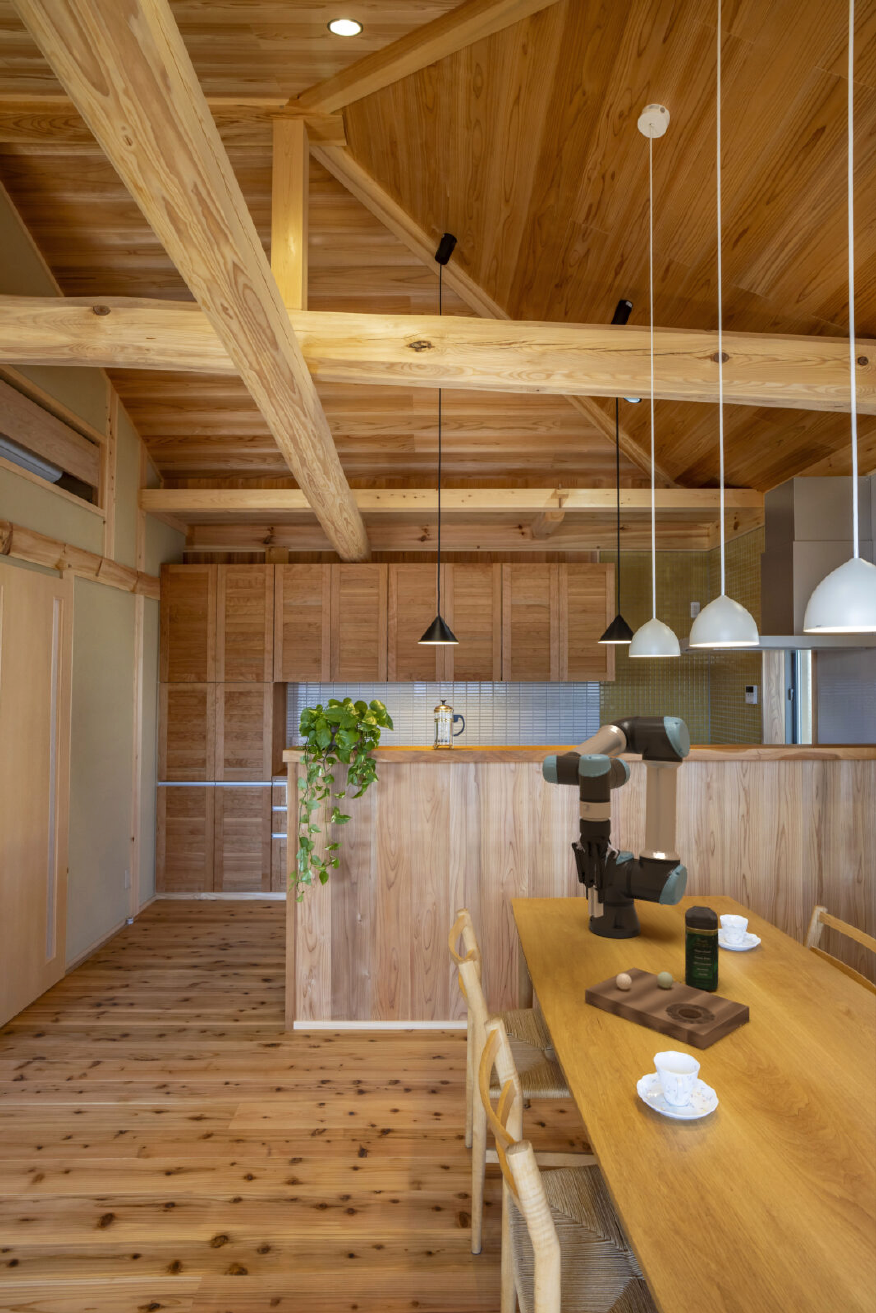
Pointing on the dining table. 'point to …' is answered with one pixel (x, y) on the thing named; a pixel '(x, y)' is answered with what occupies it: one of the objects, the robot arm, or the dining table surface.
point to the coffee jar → (701, 948)
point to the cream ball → (623, 981)
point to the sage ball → (665, 980)
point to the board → (670, 1008)
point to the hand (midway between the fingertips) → (595, 914)
